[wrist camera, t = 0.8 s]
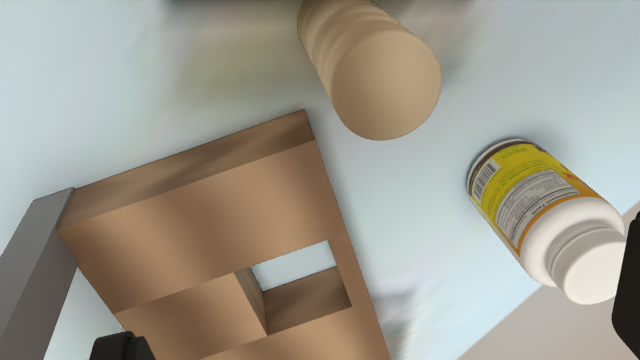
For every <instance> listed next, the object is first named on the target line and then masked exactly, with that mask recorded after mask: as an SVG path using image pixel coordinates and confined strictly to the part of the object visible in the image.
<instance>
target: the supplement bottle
mask: <svg viewBox="0 0 640 360" xmlns="http://www.w3.org/2000/svg"><path fill="white" fill-rule="evenodd" d="M467 190H468V195H469V198H470V200H471V201H472V203H473V204H474V206H475V207H476V208H477V210H478V211H479V212H480V214H481V215H482V216H483V217H484V219H485V220H486V221H487V223H488V224H489V225H490V226H491V228H492V229H493V230H494V232H495V233H496V234H497V235H498V237H499V238H500V239H501V240H502V242H503V243H504V244H505V245H506V247H507V248H508V249H509V251H510V252H511V253H512V254H513V256H514V257H515V258H516V260H517V261H518V262H519V263H520V265H521V266H522V267H523V269H524V270H525V271H526V272H527V273H528V274H529V276H530V277H532V278H533V279H534V280H535V281H537V282H539V283H541V284H544V285H547V286H552V287H558V288H559V289H561V290H562V292H563V293H564V294H565V295H566V296H567V297H568V298H569V299H570V300H571V301H573V302H575V303H579V304H595V303H598V302H602V301H605V300H607V299H610V298H612V297H613V296H615V295H616V291H617V286H618V281H619V276H620V271H621V266H622V261H623V256H624V251H625V246H626V241H627V239H626V238H625V236H624V224H623V220H622V218H621V216H620V214H619V212H618V211H617V210H616V209H615V208H614V207H613V206H612V205H611V204H610V203H609V202H607V201H606V200H605V199H604V198H602V197H601V196H600V195H599V194H598V193H596V192H595V191H594V190H593V189H591V188H590V187H589V186H588V185H587V184H585V183H584V182H583V181H582V180H580V179H579V178H578V177H577V176H576V175H574V174H573V173H572V172H571V171H569V170H568V169H567V168H566V167H565V166H563V165H562V164H561V163H560V162H558V161H557V160H556V159H555V158H553V157H552V156H551V155H550V154H549V153H548V152H546V151H545V150H544V149H542V148H541V147H540V146H538V145H537V144H535V143H533V142H531V141H528V140H523V139H513V140H507V141H503V142H500V143H498V144H496V145H494V146H492V147H491V148H489V149H488V150H486V151H485V152H484V153H483V154H482V155H481V156H480V157H479V158H478V159H477V160H476V162H475V163H474V165H473V166H472V168H471V170H470V173H469V176H468V181H467Z"/></svg>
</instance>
